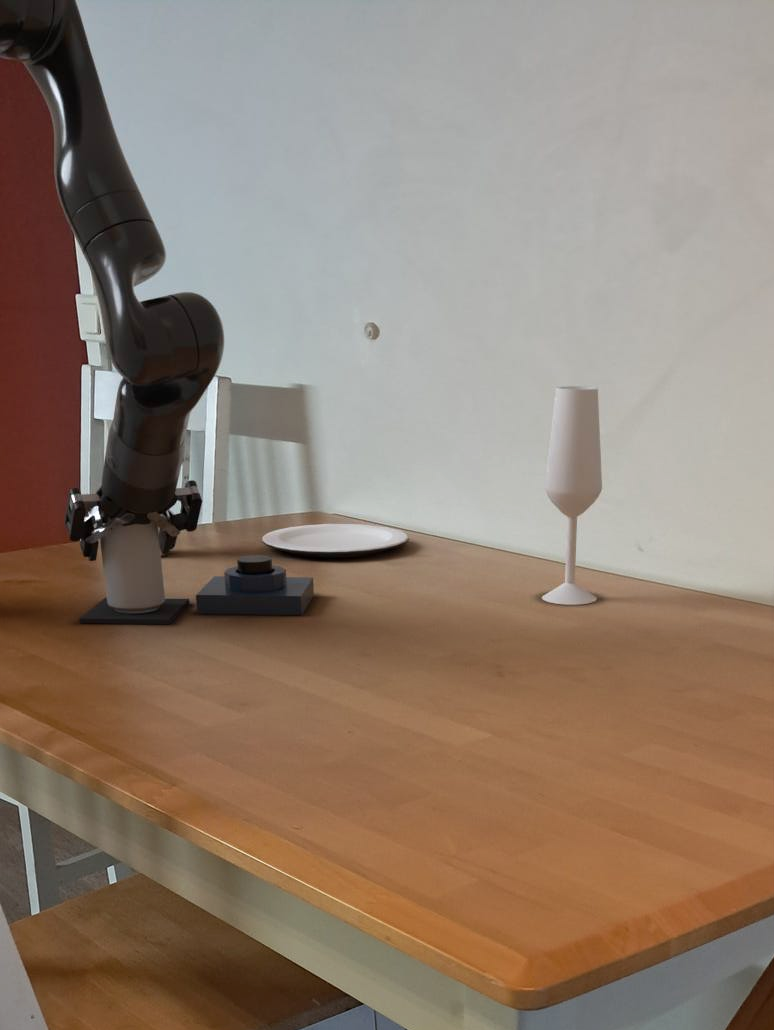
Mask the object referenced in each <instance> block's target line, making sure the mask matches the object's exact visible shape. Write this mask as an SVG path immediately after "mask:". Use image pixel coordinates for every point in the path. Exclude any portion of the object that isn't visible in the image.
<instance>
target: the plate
mask: <svg viewBox="0 0 774 1030" xmlns="http://www.w3.org/2000/svg"><path fill="white" fill-rule="evenodd" d="M409 539H410V537H409V535H408V533H406V532H404V531H402V530H400V529H396V528H392V527H389V526H388V527H387V526H380V525H375V524H374V525H373V524H361V523H323V524H320V523H319V524H305V525H298V526H290V527H285V528H280V529H276V530H272V531H270V532H268V533H266V534H264V535H263V536H262V539H261V543H263V544H264V545H266V546H267V547H268V548H272V549H275V550H279V551H283V552H286V553H289V554H292V555H298V556H303V557H312V558H326V559H328V558H329V559H330V558H335V559H336V558H355V557H363V556H370V555H374V554H375V555H376V554H379V553H382V552H385V551H387V550H390V549H394V548H397V547H398V548H399V547H401V546H403V545H405V544H406V543H407V542H408V541H409Z"/></svg>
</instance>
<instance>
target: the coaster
mask: <svg viewBox="0 0 774 1030" xmlns="http://www.w3.org/2000/svg"><path fill="white" fill-rule="evenodd" d="M189 605H190V598H165V602H164V603H163V604H162V605H160V606H159V608H158V609H157V610H155V611H151V612H146V613H121V612H117V611H116V610H115V609H114V608H112V607H110V606H109V605H108V603H107V597H104V598H103V599H102V600H100V601H99V602H98V603H96V605H94V606H92V607H91V608H90V609H89V610H88V611H87V612H85V613H84V614H83V615H82V616H80V617H79V620H78V621H79V624H90V625H91V624H94V625H95V624H99V625H103V624H105V625H171V623H172V622H174V620H176V618H177V617H178V616H179V615H180V614H181V613H182V612H183V611H184V610H185V609H186V608H187V607H188V606H189Z"/></svg>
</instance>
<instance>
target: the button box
mask: <svg viewBox="0 0 774 1030" xmlns="http://www.w3.org/2000/svg"><path fill="white" fill-rule="evenodd" d="M272 571H273V572H272V573H268V574H259V575H245V574H239V573H238V567H237V566H233V567H232V566H231V567H229V568H227V569H226V570H225V571H224V572H223V573H224V574H223V575H224V576H223V575H222V576H219V575H218V576H217V575H216V576H215V575H214V576H213V577H212V578H211V579H210V580H209V581H208V582H207V583H206V584H205V585H204V586H203V587H202V588H201V589H200V590H199V591H198V592H197V593H196V594H195V604H196V614H197V615H246V616H247V615H249V616H250V615H251V616H252V615H253V616H255V615H256V616H258V615H259V616H261V615H262V616H264V615H265V616H266V615H267V616H302V615H303V614H304V613H305V611H306V609H307V608H308V606H309V604H310V603H311V601H312V599H313V597H314V596H315V589H314V577H313V576H312V577H311V576H310V577H308V576H307V577H306V576H305V577H304V576H301V577H300V576H287V569H286V568H284V567H282V566H279V565H273V564H272Z"/></svg>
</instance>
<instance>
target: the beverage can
mask: <svg viewBox="0 0 774 1030" xmlns="http://www.w3.org/2000/svg"><path fill="white" fill-rule="evenodd" d="M108 520H109V521H110V520H111V519H110V518H109V517H108ZM99 543H100V552H101V561H102V569H103V578H104V584H105V585H104V586H105V594H106V595H105V596H106V598H107V603H108V605H109V606H110V607H112V608H114V609H115V610H116V611H117V612H121V613H146V612H151V611H155V610H157V609H158V608H159V606H160V605H162V604H163V603H164V602H165V599H166V596H165V595H166V594H165V586H164V576H163V574H164V573H163V567H162V556H161V554H160V543H159V533H158V526H157V525H156V524H155V523H154V522H153V521H152V522H150V524H144V525H141V524H133V525H129V526H121V527H119V528H118V529H117V530H116V531H115V532H113V533H112V534H111V535H107V534H105V535H104V536H102V537H101V538H100V539H99Z"/></svg>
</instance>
